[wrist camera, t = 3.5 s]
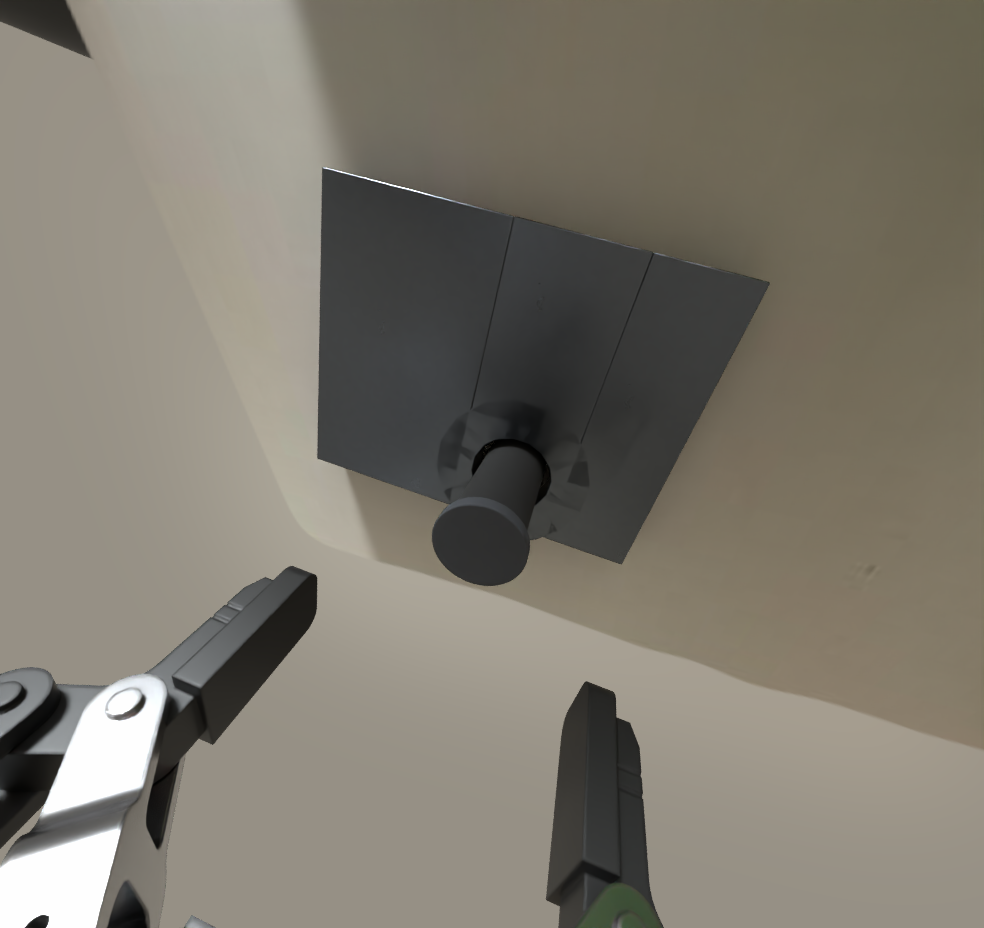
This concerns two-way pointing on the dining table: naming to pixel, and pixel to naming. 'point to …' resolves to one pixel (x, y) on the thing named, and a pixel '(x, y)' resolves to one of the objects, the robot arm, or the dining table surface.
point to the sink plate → (514, 354)
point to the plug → (492, 516)
